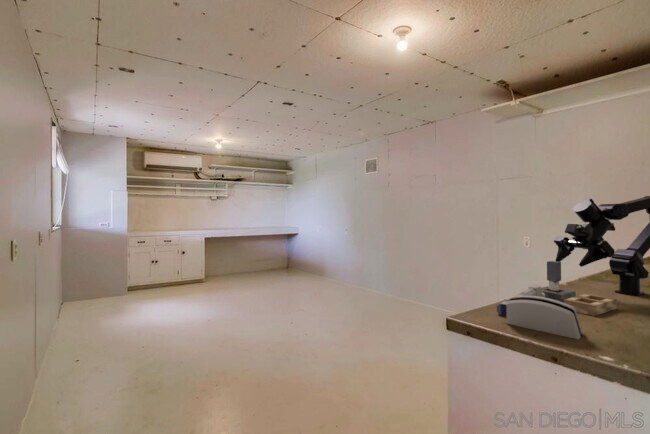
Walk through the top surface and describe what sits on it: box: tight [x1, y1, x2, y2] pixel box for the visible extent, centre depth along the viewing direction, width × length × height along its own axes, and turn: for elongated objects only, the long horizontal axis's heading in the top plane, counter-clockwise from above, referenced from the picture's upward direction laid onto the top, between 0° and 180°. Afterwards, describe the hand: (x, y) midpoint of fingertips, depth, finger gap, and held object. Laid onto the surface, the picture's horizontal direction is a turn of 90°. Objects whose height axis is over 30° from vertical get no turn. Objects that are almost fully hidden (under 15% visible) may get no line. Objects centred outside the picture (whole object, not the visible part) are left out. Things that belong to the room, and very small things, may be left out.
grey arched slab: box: [506, 295, 583, 340], centre depth 87 cm, size 17×5×10 cm, turn 42°
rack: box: [564, 293, 618, 317], centre depth 103 cm, size 14×8×3 cm, turn 118°
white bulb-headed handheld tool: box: [495, 283, 545, 317], centre depth 106 cm, size 5×7×25 cm
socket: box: [541, 285, 577, 303], centre depth 115 cm, size 9×9×3 cm
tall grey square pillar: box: [546, 260, 562, 292], centre depth 115 cm, size 3×3×13 cm
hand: (567, 263), depth 116 cm, fingers open, 9 cm apart
